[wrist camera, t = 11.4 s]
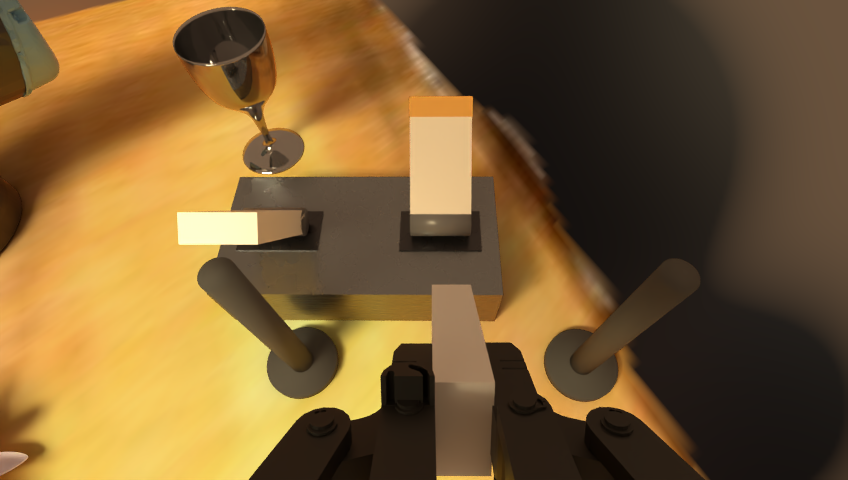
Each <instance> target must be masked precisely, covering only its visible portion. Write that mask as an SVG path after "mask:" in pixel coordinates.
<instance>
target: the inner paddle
mask: <svg viewBox="0 0 848 480" xmlns="http://www.w3.org/2000/svg"><path fill="white" fill-rule="evenodd" d="M177 219H178V240H179V244H238V245H258V244H262V243H267V242H271V241H275V240H280V239H284V238H289V237H293V236H306V235H307V233H308V229H309V216H308V211H307V209H306V208H244V209H243V210H235V211H204V212H177Z"/></svg>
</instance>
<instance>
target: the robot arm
mask: <svg viewBox="0 0 848 480" xmlns="http://www.w3.org/2000/svg"><path fill="white" fill-rule="evenodd" d="M58 73H59V63H58V60H57V58H56V57H55V55H54V53H53V51H52V50H51V48H50V47H49V45H48V44H47V42H46V41H45V39H44V38H43V36H42V35H41V33H40V32H39V30H38V29H37V27H36V26H35V24H34V23H33V22H32V20H31V19H30V18H29V16H28V15H27V14H26V12H25V11H24V9H23V7H22V6H21V5H20V3H19V2H18V0H0V106H1V105H4V104H6V103H8V102H11V101H13V100H16V99H18V98H20V97H26V96H28V95H30V94H31V92H32V91H33V90H34V89H36V88H38V87H40V86H42V85H44V84H46V83H48V82H50V81H52V80H54V79H55V78H56V77H57V75H58ZM21 212H22V203H21V199H20V196H19V194H18V192H17V190H16V189H15V188H14V187H13V186H12V185H10V184H9V183H8V182H6V181H5V180H4V179H2V178H1V177H0V252H1V250H2V249H3V248H4V247H5V246H6V244H7V243H8V242H9V240H10V239H11V237H12V236H13V234H14V232H15V230H16V228H17V226H18V224H19V221H20V217H21ZM381 403H382V406H381V409H380V410H378V411H377V412H376V413H374V414H372V415H370V416H367V417H364V418H360V419H356V420H351V421H350V418H349V415H348V414H346V413H345V412H344V411H343V410H340V409H337V408H319V409H315V410H312V411H310V412H308V413H306V414H304V415H303V416H301V417H300V418H299V419H298V420H297V421H296V422H295V423H294V424H293V426H292V427H291V428H290V429H289V431H288V432H287V433H286V434H285V436H284V437H283V438H282V439H281V440H280V442H279V443H278V444H277V445H276V447H275V448H274V449H273V450H272V451H271V453H270V454H269V455H268V456H267V458H266V459H265V460H264V461H263V463H262V464H261V465H260V466H259V467H258V469H257V470H256V471H255V472H254V474H253V475H252V476H251V477H250V479H249V480H437V478H436V476H491V466H493V472H494V480H705V479H704V478H703V477H701V476H700V475H699V474H698V473H697V472H696V471H695V470H694V469H693V468H692V467H691V466H690V465H689V464H687V463H686V462H685V461H684V460H683V459H682V458H681V457H680V456H679V455H678V454H677V453H676V452H675V451H674V450H672V449H671V448H670V447H669V446H668V445H667V444H666V443H665V442H664V441H663V440H662V439H661V438H660V437H658V436H657V435H656V434H655V433H654V432H653V431H652V430H651V429H650V428H649V427H648V426H647V425H646V424H645V423H643V422H642V421H641V420H640V419H638V418H637V417H636V416H634V415H633V414H631V413H628V412H626V411H624V410H621V409H617V408H611V407H599V408H596V409H593V410H591V411H590V412H589V413H588V414H587V417H586V421H582V420H577V419H573V418H568V417H565V416H561V415H559V414H557V413H555V412H553V409H552V407H551V405H550V404H549V403H548V401H547V400H546V399H545V398H543V397H542V396H540V395H539V394H537V392H536V389H535V387H534V384H533V381H532V379H531V376H530V374H529V371H528V370H527V366H526V364H525V362H524V359H523V356H522V354H521V351H520V350H519V349H518V348H517V347H515V346H514V345H513V344H512V343H485V340H484V336H483V332H482V328H481V324H480V320H479V316H478V312H477V308H476V304H475V300H474V296H473V292H472V288H471V285H432V344H401V345H400V346H399V347H398V348H397V349H396V350H395V351H394V354H393V360H392V365H391V366H389V367H388V368H386V369H385V370H384V371H383V373H382V374H381Z"/></svg>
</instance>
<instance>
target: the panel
mask: <svg viewBox="0 0 848 480" xmlns="http://www.w3.org/2000/svg"><path fill="white" fill-rule="evenodd" d="M244 208H306V209H307V211H308V216H309V229H308V233H307V235H306V236H293V237H289V238H284V239H280V240H275V241H271V242H267V243H262V244H258V245H238V244H221V246H220V250H219V253H218V257H225V258H228V259H230V260H232V261H233V262H234V263H235V265H236V266H237V267H238V268H239V269H240V270H241V272H242V273H243V274H244V275H245V276H246V277H247V279H248V280H249V281H250V282H251V283H252V284H253V286H254V287H255V288H256V289H257V290H258V291H259V293H260V294H261V295H262V296H263V297H264V298H265V300H266V301H267V302H268V303H269V304H270V305H271V307H272V308H273V309H274V310H275V311H276V312H277V314H278V315H279V316H280V317H281V318H282V319H283V320H405V321H432V285H471V288H472V292H473V296H474V300H475V304H476V308H477V312H478V316H479V320H480V321H494V320H495V317H496V314H497V311H498V309H499V306H500V303H501V300H502V297H503V287H502V276H501V264H500V252H499V240H498V229H497V217H496V205H495V193H494V182H493V177H471V235H470V236H411V235H410V177H240V179H239V183H238V186H237V190H236V193H235V197H234V200H233V204H232V207H231V211H235V210H243V209H244ZM218 257H217V258H218ZM207 295H209V294H208V293H207ZM209 296H210V295H209ZM210 297H211V296H210ZM211 298H212V297H211ZM212 299H213V298H212ZM213 300H214V299H213ZM214 301H215V302H216V303H218V302H217V301H216V300H214ZM218 304H219V303H218ZM219 305H220V304H219ZM220 306H221V305H220ZM221 307H222V306H221ZM222 308H223V307H222ZM223 309H224V310H226V309H225V308H223ZM226 311H227V310H226ZM227 312H228V311H227ZM228 313H229V312H228ZM229 314H230V313H229ZM230 315H231V314H230ZM231 316H232V315H231ZM232 317H233V318H235V317H234V316H232ZM235 319H236V318H235ZM236 320H237V319H236Z"/></svg>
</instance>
